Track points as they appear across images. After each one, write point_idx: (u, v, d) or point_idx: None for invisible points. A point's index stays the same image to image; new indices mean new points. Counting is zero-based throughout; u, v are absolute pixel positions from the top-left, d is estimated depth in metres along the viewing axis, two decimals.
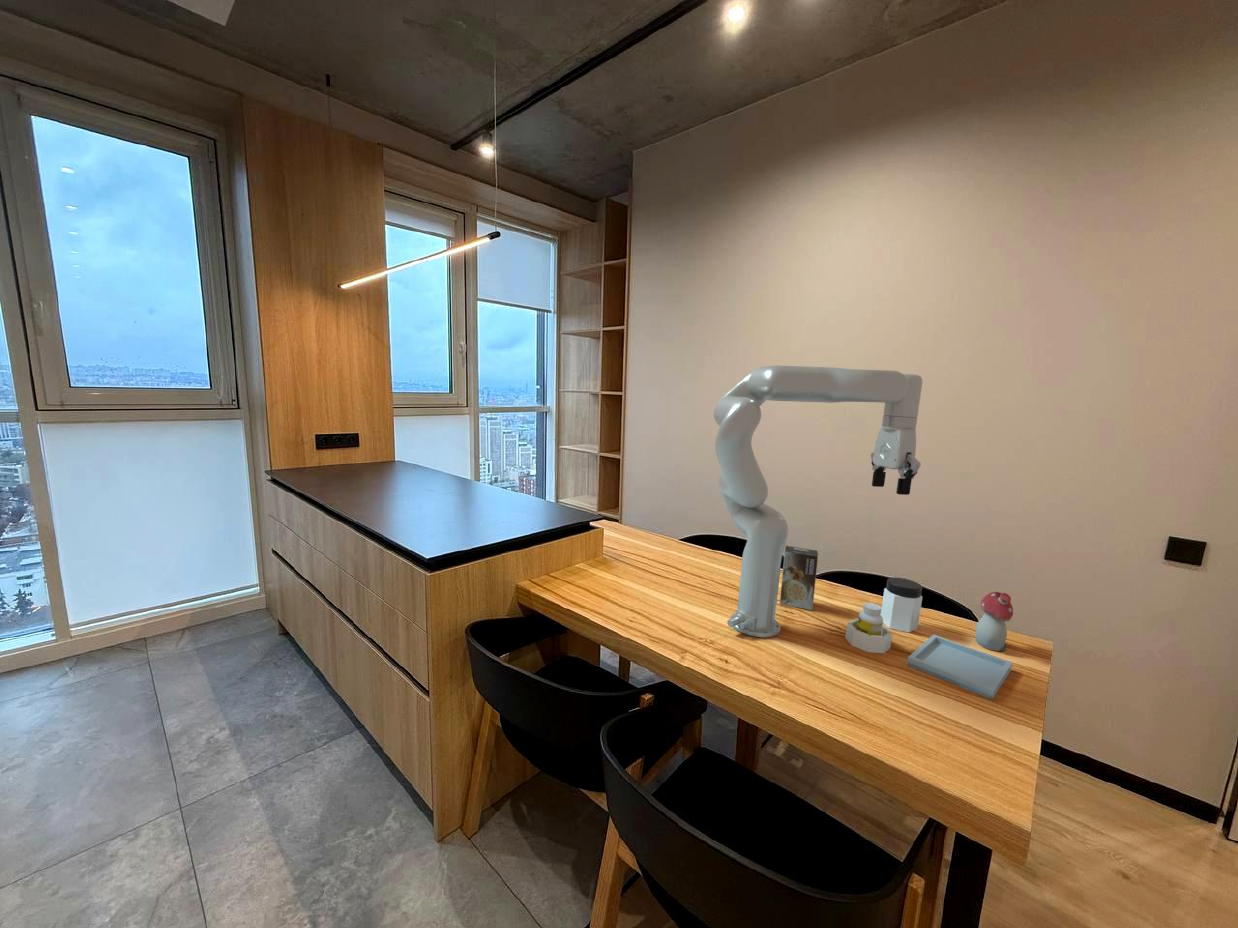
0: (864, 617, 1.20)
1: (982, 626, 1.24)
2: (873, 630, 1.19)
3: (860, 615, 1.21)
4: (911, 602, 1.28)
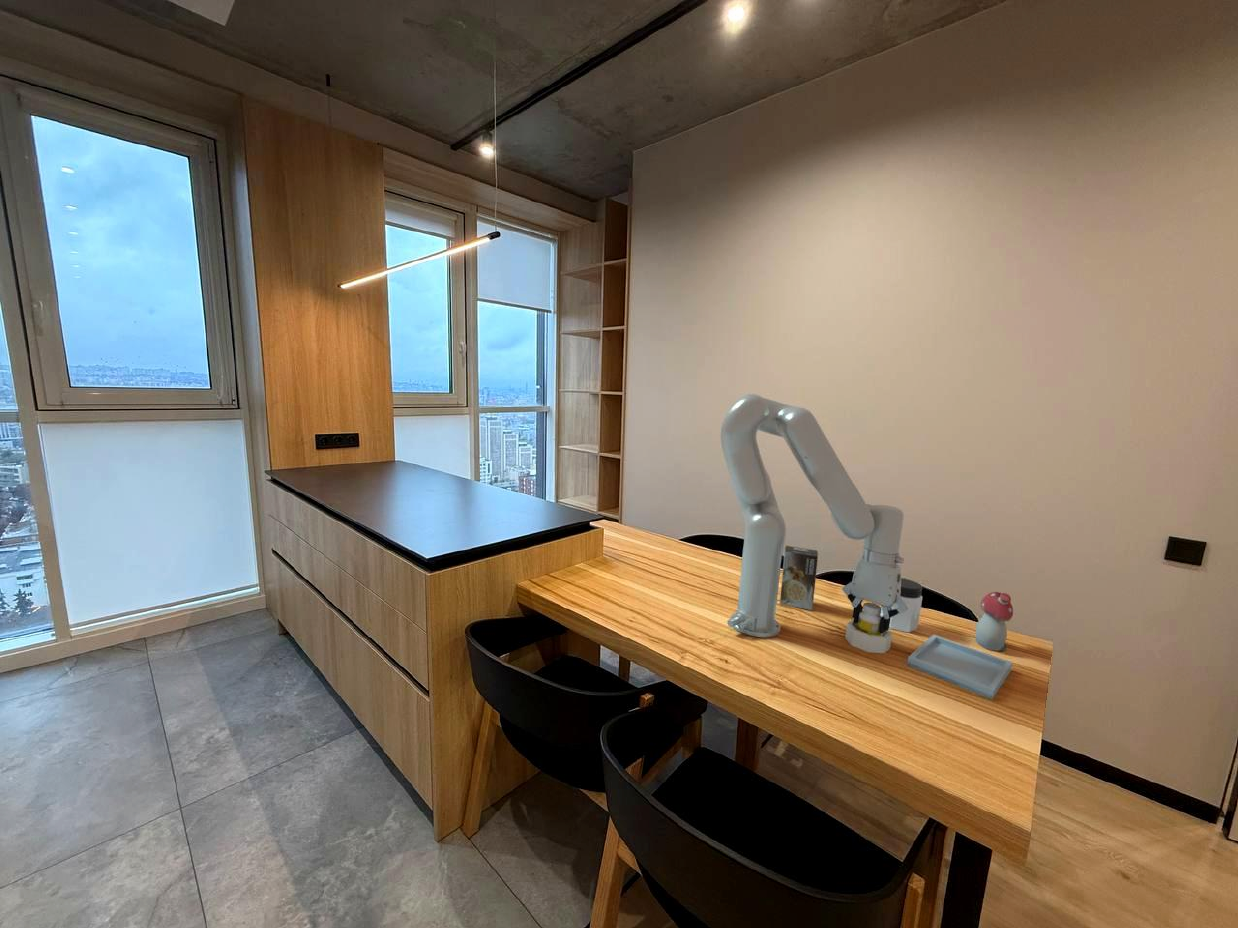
0: (864, 617, 1.20)
1: (982, 626, 1.24)
2: (873, 629, 1.19)
3: (860, 615, 1.21)
4: (911, 602, 1.28)
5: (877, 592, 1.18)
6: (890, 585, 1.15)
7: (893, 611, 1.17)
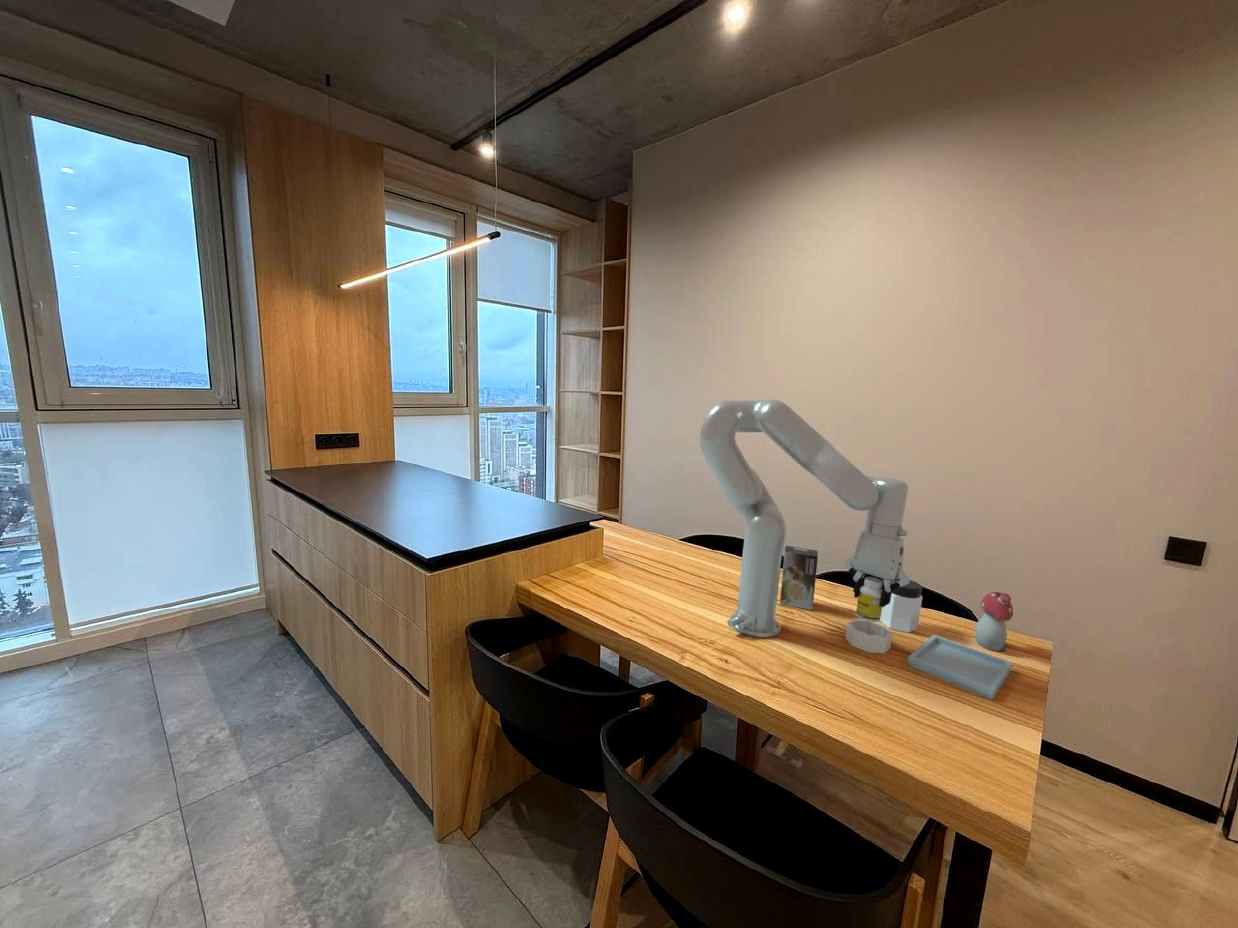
0: (866, 591, 1.19)
1: (982, 626, 1.24)
2: (873, 603, 1.18)
3: (861, 589, 1.20)
4: (911, 602, 1.28)
5: (879, 566, 1.17)
6: (892, 558, 1.14)
7: (894, 584, 1.16)
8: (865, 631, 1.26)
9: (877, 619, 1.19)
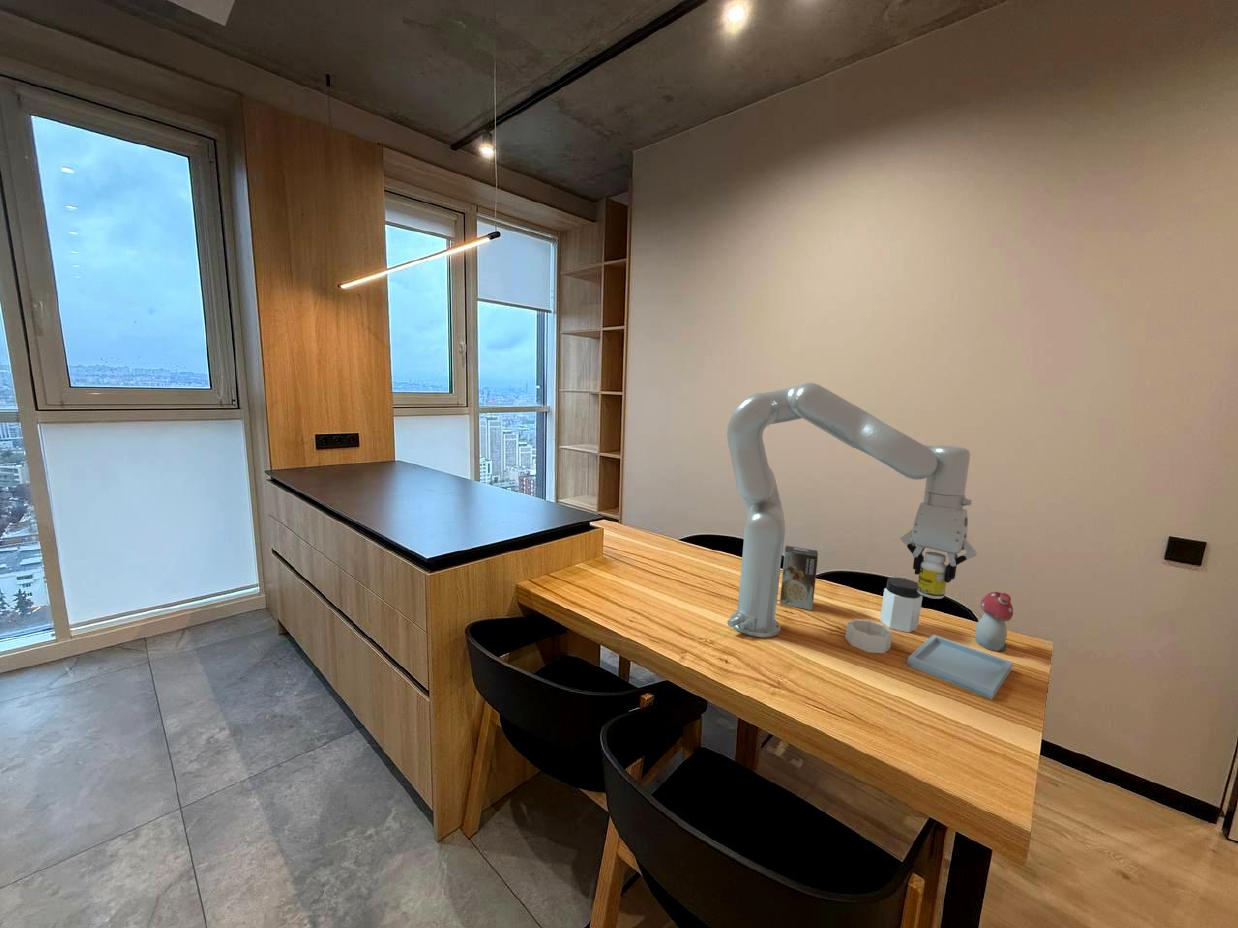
0: (928, 566, 1.12)
1: (982, 626, 1.24)
2: (937, 579, 1.11)
3: (922, 564, 1.14)
4: (911, 602, 1.28)
5: (942, 538, 1.10)
6: (957, 529, 1.08)
7: (960, 557, 1.09)
8: (865, 631, 1.26)
9: (942, 595, 1.12)
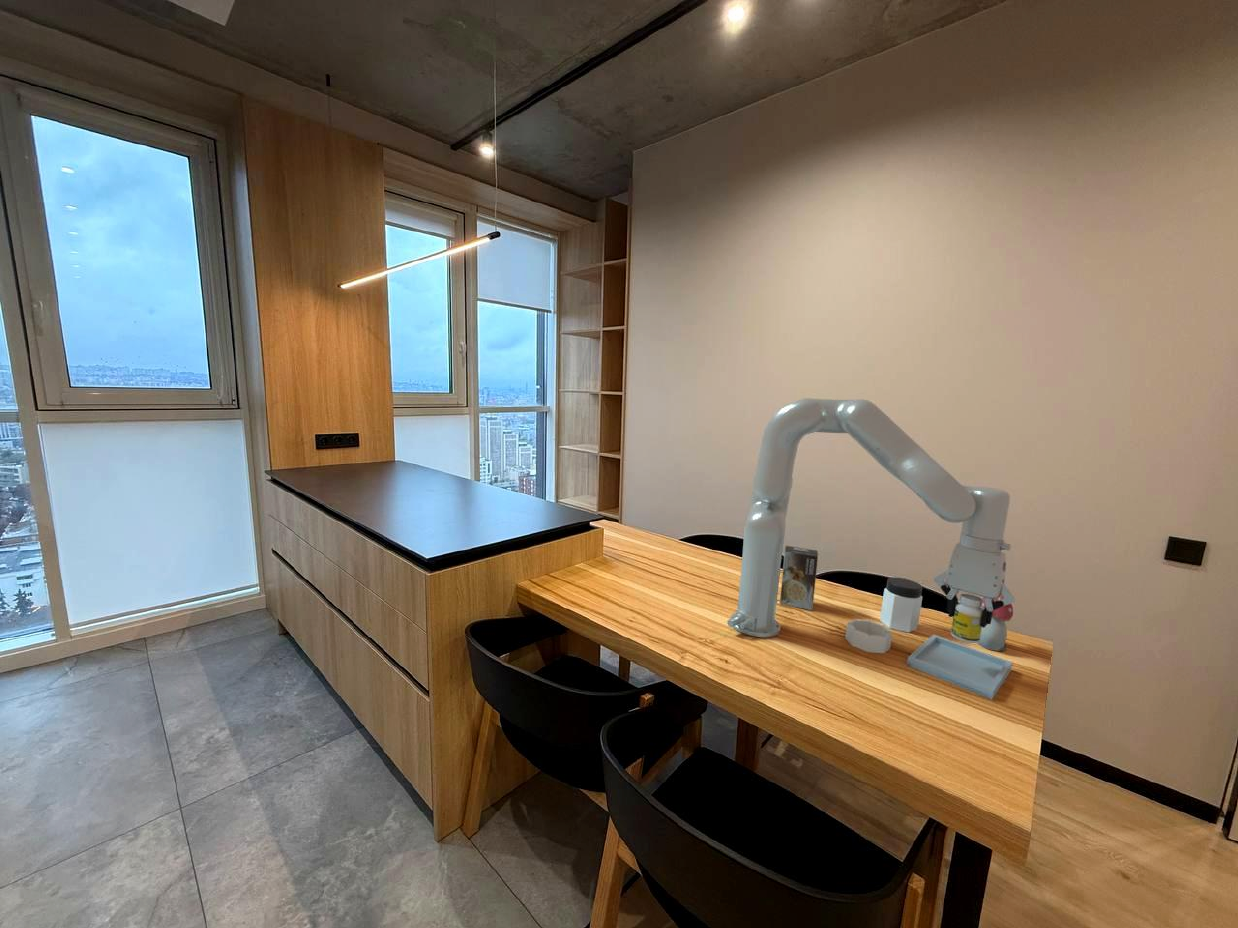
0: (964, 610, 1.09)
1: None
2: (973, 623, 1.09)
3: (957, 607, 1.11)
4: (911, 602, 1.28)
5: (979, 583, 1.07)
6: (995, 574, 1.05)
7: (997, 602, 1.06)
8: (865, 631, 1.26)
9: (977, 640, 1.09)
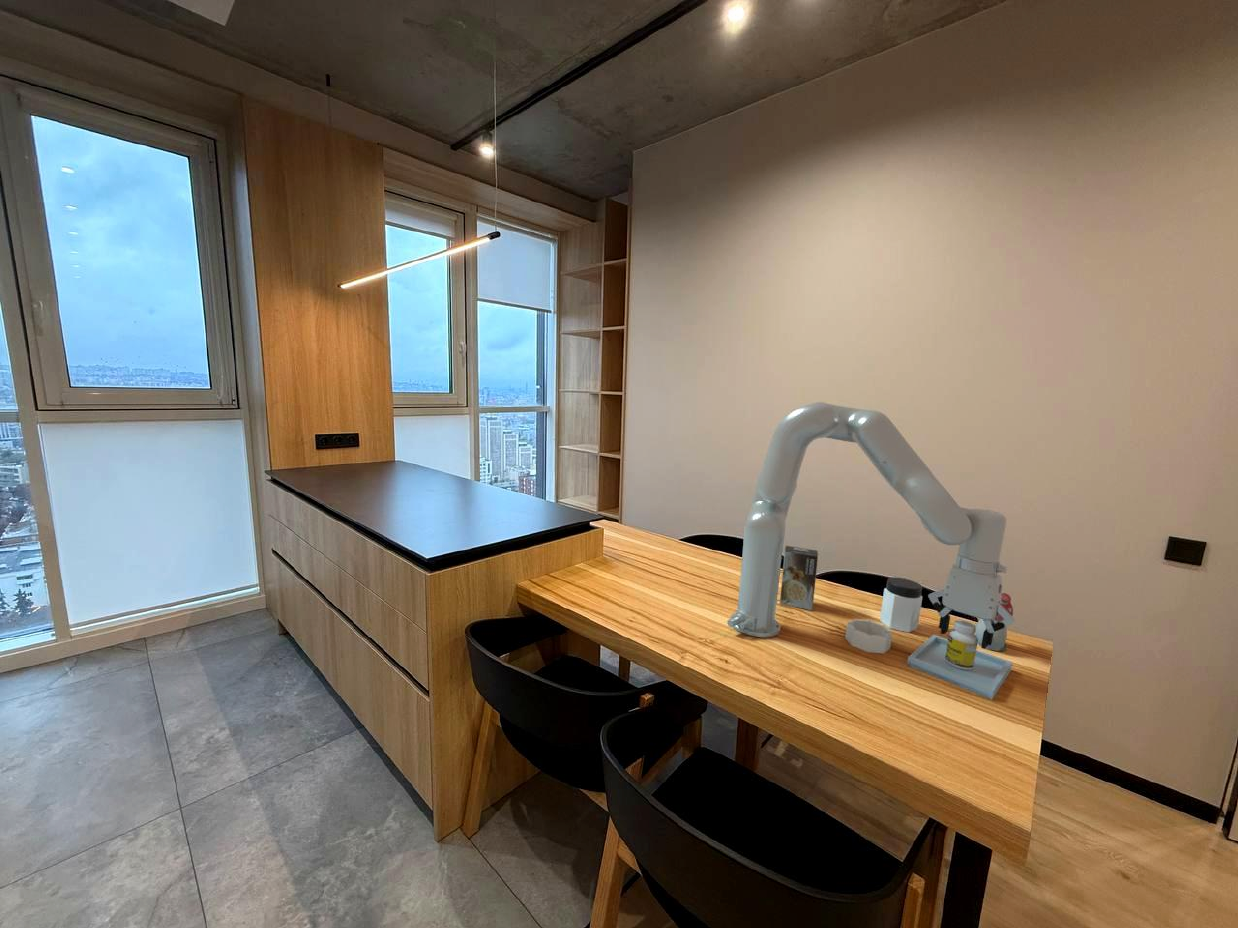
0: (958, 637, 1.11)
1: (982, 626, 1.24)
2: (967, 650, 1.10)
3: (951, 634, 1.12)
4: (911, 602, 1.28)
5: (975, 604, 1.08)
6: (991, 596, 1.06)
7: (998, 624, 1.06)
8: (865, 631, 1.26)
9: (971, 667, 1.10)
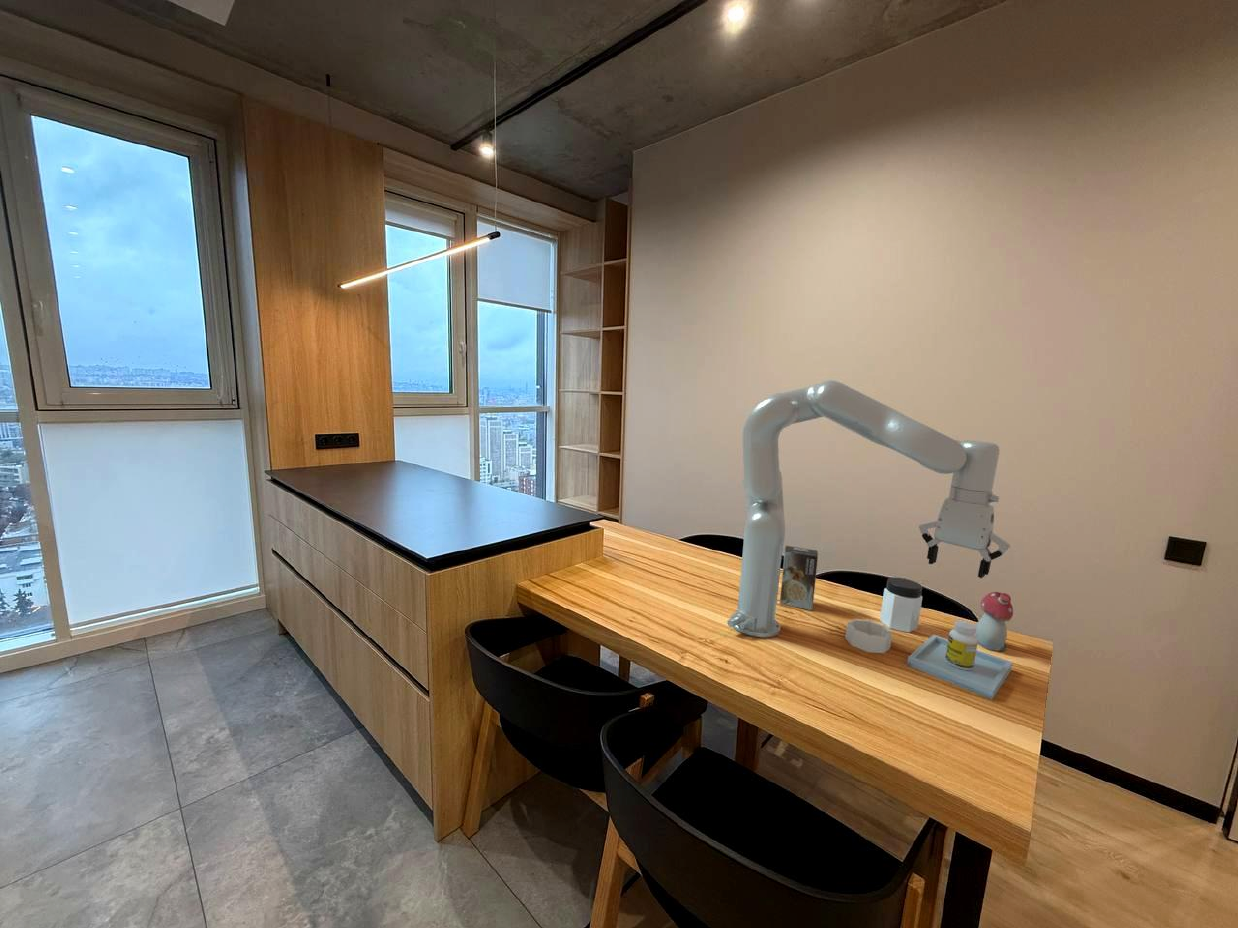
0: (958, 637, 1.10)
1: (982, 626, 1.24)
2: (967, 650, 1.10)
3: (952, 634, 1.12)
4: (911, 602, 1.28)
5: (967, 535, 1.08)
6: (983, 526, 1.06)
7: (995, 552, 1.06)
8: (865, 631, 1.26)
9: (971, 667, 1.10)
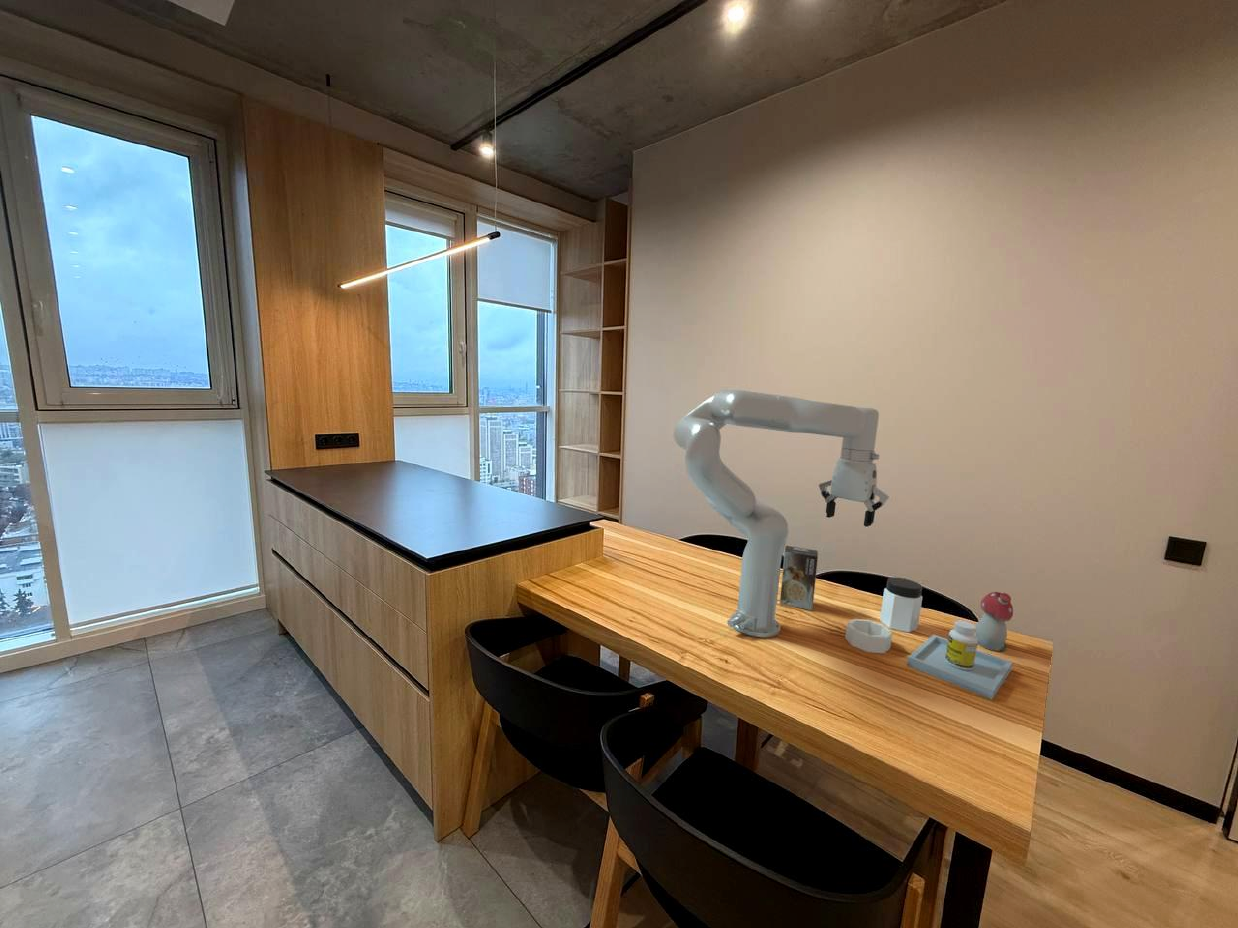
0: (958, 637, 1.10)
1: (982, 626, 1.24)
2: (967, 650, 1.10)
3: (951, 634, 1.12)
4: (911, 602, 1.28)
5: (854, 489, 1.24)
6: (866, 480, 1.22)
7: (877, 503, 1.22)
8: (865, 631, 1.26)
9: (971, 667, 1.10)
